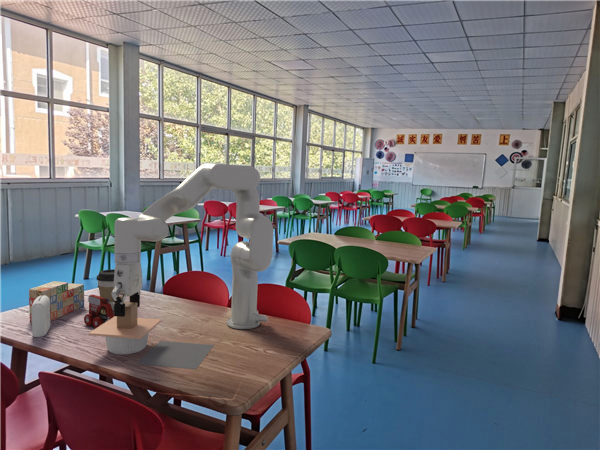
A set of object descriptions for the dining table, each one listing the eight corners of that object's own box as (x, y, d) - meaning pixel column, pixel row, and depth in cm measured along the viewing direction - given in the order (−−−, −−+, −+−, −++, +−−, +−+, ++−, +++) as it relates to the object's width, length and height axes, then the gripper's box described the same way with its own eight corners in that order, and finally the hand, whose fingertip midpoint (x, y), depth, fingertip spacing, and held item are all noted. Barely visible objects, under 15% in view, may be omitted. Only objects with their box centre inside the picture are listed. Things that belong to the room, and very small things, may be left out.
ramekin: (122, 361, 126) (122, 338, 125) (95, 350, 133) (95, 328, 132) (158, 347, 137) (158, 326, 137) (131, 337, 144) (131, 317, 143)
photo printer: (37, 327, 149) (36, 293, 147) (51, 326, 150) (51, 292, 149) (30, 338, 139) (29, 301, 138) (45, 337, 141) (44, 300, 139)
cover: (161, 321, 142) (162, 298, 141) (140, 339, 126) (141, 314, 125) (115, 317, 143) (115, 295, 142) (88, 335, 127) (88, 310, 126)
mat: (213, 346, 140) (213, 345, 140) (196, 370, 122) (196, 369, 122) (160, 341, 142) (160, 340, 141) (135, 365, 124) (135, 364, 124)
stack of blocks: (71, 305, 175) (70, 275, 174) (84, 306, 174) (84, 277, 173) (29, 321, 154) (28, 288, 153) (44, 323, 153) (43, 290, 152)
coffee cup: (120, 302, 182) (120, 267, 180) (131, 309, 173) (131, 272, 172) (92, 306, 174) (92, 270, 172) (101, 314, 166) (101, 276, 164)
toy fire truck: (102, 331, 148) (102, 302, 147) (80, 323, 154) (80, 295, 153) (120, 326, 154) (120, 298, 153) (98, 318, 160) (98, 291, 159)
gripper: (125, 263, 123) (125, 321, 125) (151, 253, 140) (150, 304, 142) (100, 262, 124) (101, 319, 126) (129, 252, 141) (129, 302, 143)
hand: (127, 311), depth 134 cm, fingers open, 9 cm apart
